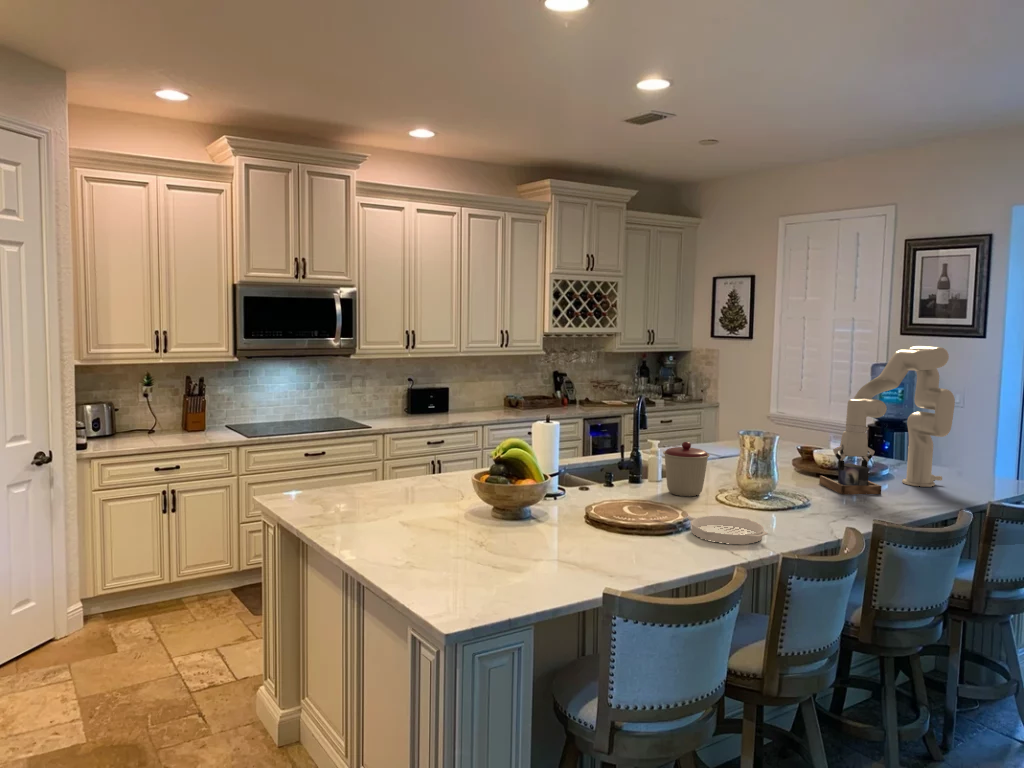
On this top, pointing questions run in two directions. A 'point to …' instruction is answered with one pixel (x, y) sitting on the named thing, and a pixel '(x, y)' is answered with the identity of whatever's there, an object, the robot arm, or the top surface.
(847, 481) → the small box
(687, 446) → the canister
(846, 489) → the wooden u-shaped frame
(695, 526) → the pan
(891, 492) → the top surface
